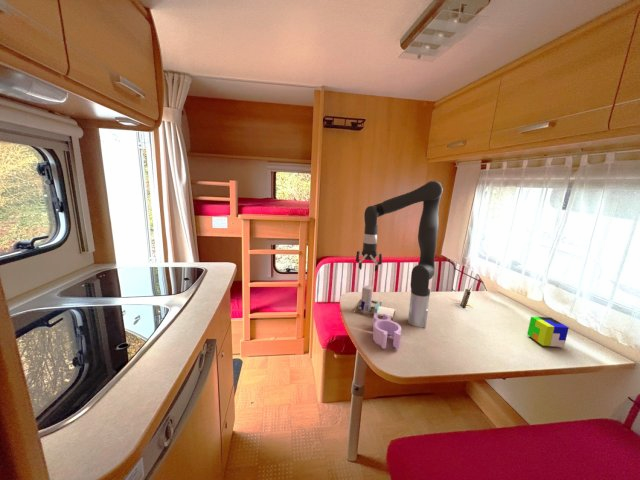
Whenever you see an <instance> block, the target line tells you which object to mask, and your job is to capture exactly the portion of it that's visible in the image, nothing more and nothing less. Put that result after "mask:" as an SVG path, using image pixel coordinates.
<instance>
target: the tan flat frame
mask: <svg viewBox="0 0 640 480" xmlns="http://www.w3.org/2000/svg"><path fill="white" fill-rule="evenodd" d="M361 302H362V298H361V299H360V301H359V302H358V304H357V306H356V307H355V309H354V312H353V313H354V314H358V315H363V316H368V317H373V318H374V310H375V306H372V305H371V311H370V312H369V313H368V312H364V311H361V310H359V309H360V308H361ZM371 302H372V303H371V304H375V305H376V304H377V302H380V306H381V307H382V301H377V300H373V299H372V300H371ZM395 315H396V310H394V314H393V318H391V320H392V321H393V322H394V319H395ZM378 318H379V319H382V318H383V316H380V315H378Z"/></svg>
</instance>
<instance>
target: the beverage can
mask: <svg viewBox="0 0 640 480" xmlns="http://www.w3.org/2000/svg"><path fill="white" fill-rule="evenodd" d="M372 298H373V286H371V285H366V284H365V285H363V286H362V290H361V299H362V302H361V307H360V311H364V312H368V313H371V311H372V309H371V306H372V303H371V300H373V299H372Z"/></svg>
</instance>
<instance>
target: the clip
mask: <svg viewBox="0 0 640 480" xmlns="http://www.w3.org/2000/svg"><path fill="white" fill-rule="evenodd" d="M372 330H373V332H372V333H373V334H372V339H373V341H374V342H375V343H376V344H377V345H379V346H381V348H382V349H386V348H387V340H388V335H389V336H391V337H393V340H392V341H393V342H392V346H393V348H395V349H397V350H399V349H400V348H401V347H400V345H401V338H402V337H401V336H402V326H401V325H400V324H399V323H398V322H395V321H394V320H393V321H392V320H391V318H390V316H388V315H386V314H383V318H382V319H381V318H378V314H374V317H373V320H372Z"/></svg>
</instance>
